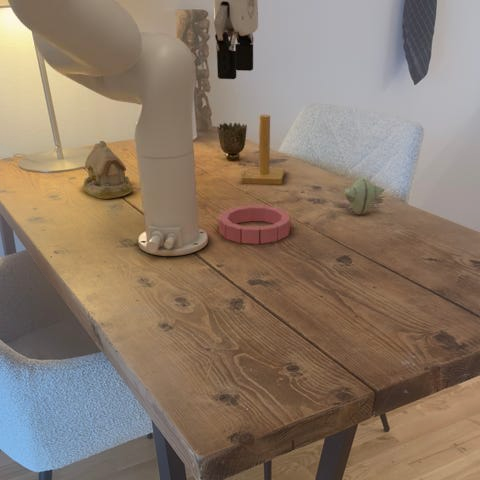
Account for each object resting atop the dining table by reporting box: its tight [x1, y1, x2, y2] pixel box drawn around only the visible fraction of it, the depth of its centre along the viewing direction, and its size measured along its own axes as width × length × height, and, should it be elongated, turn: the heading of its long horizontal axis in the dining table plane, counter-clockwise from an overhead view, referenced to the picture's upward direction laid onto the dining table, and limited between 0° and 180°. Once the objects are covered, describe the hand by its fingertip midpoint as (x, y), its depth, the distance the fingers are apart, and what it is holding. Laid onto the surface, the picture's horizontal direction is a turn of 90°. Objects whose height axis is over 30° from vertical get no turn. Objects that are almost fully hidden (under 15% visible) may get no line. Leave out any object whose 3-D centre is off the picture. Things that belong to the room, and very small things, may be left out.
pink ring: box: [218, 204, 292, 245], centre depth 107 cm, size 13×13×3 cm
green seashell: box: [344, 177, 385, 216], centre depth 111 cm, size 8×4×7 cm, turn 103°
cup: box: [216, 122, 248, 162], centre depth 145 cm, size 8×7×8 cm
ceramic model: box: [82, 140, 134, 200], centre depth 125 cm, size 14×11×10 cm
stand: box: [242, 114, 286, 185], centre depth 129 cm, size 9×9×13 cm
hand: (236, 74), depth 100 cm, fingers open, 9 cm apart
